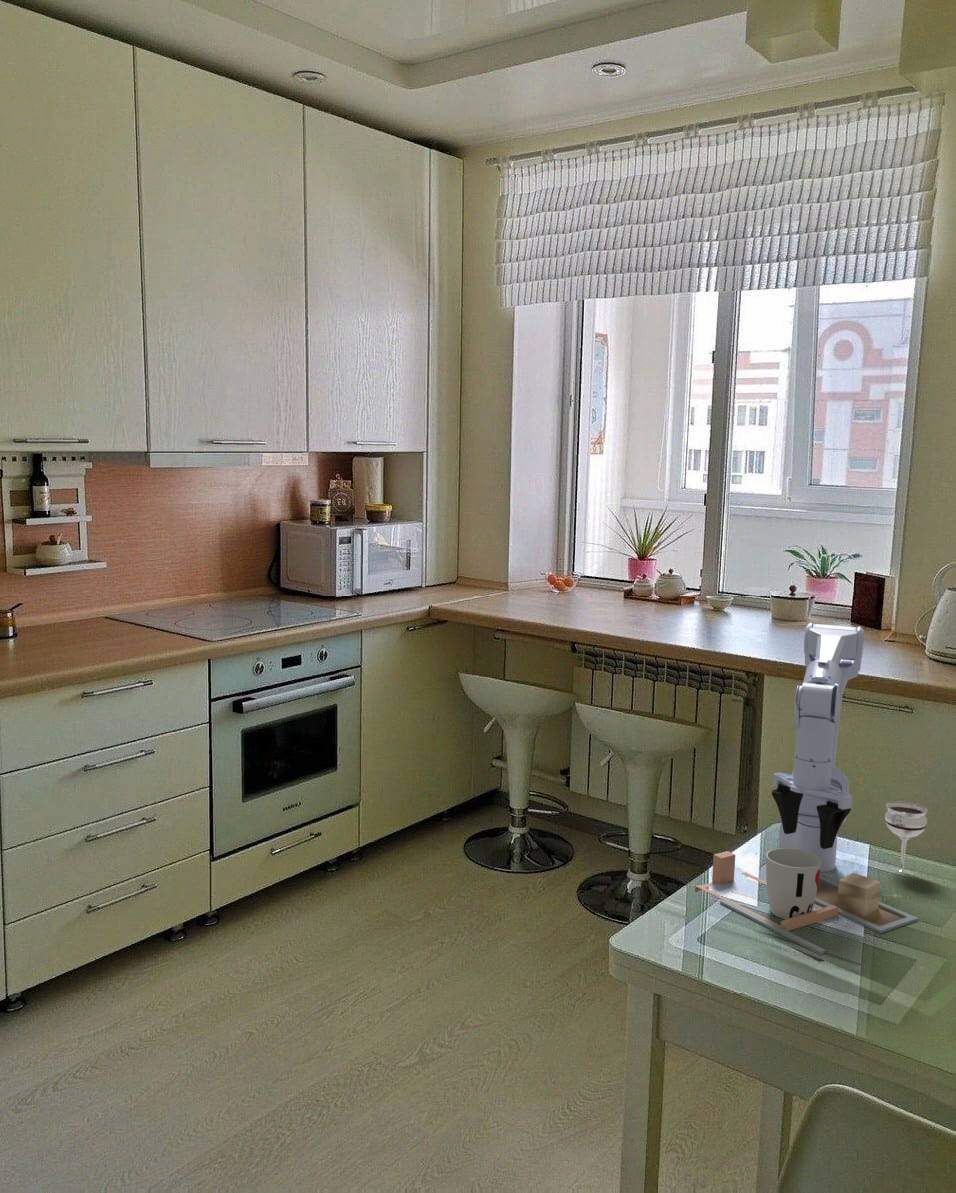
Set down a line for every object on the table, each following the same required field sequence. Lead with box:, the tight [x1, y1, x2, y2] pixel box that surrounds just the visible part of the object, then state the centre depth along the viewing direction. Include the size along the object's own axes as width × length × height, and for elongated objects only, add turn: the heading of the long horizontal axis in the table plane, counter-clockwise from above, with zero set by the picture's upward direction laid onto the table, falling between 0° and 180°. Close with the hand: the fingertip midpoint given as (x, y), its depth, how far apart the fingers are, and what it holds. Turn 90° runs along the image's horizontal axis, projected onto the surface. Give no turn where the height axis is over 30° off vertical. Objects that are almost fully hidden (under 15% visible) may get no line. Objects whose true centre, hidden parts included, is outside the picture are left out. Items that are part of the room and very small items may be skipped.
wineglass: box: [884, 801, 928, 876], centre depth 178 cm, size 7×7×12 cm
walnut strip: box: [815, 881, 903, 927], centre depth 164 cm, size 17×6×5 cm, turn 32°
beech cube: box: [837, 872, 881, 917], centre depth 162 cm, size 4×4×4 cm
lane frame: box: [719, 875, 919, 963], centre depth 160 cm, size 20×22×2 cm
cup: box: [765, 848, 821, 920], centre depth 159 cm, size 8×8×10 cm
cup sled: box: [694, 850, 839, 932], centre depth 164 cm, size 19×12×6 cm, turn 32°
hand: (807, 840), depth 166 cm, fingers open, 7 cm apart
